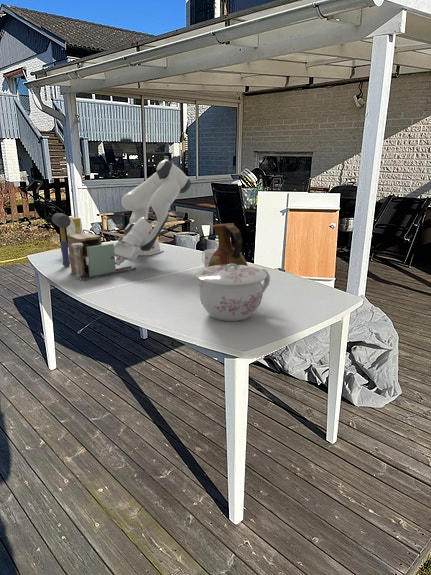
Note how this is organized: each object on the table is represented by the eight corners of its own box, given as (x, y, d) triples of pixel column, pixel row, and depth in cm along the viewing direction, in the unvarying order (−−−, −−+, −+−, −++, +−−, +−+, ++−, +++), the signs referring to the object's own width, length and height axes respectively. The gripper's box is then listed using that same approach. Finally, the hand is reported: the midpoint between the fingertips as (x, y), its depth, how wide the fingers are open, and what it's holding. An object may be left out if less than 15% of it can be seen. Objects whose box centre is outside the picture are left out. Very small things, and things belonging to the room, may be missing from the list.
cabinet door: (113, 272, 216) (111, 242, 212) (117, 273, 214) (114, 243, 209) (86, 277, 207) (83, 247, 202) (90, 279, 204) (86, 248, 199)
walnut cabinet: (92, 268, 225) (88, 232, 218) (108, 274, 212) (104, 237, 206) (63, 273, 214) (59, 236, 208) (79, 280, 201) (74, 241, 195)
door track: (130, 267, 225) (130, 265, 225) (135, 269, 221) (135, 267, 221) (79, 278, 206) (79, 276, 205) (84, 280, 202) (84, 278, 201)
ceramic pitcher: (227, 277, 207) (227, 218, 198) (257, 285, 193) (259, 223, 184) (199, 285, 194) (198, 223, 185) (229, 294, 180) (230, 228, 171)
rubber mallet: (77, 267, 225) (70, 213, 216) (63, 270, 221) (56, 215, 212) (69, 263, 235) (63, 211, 226) (56, 265, 230) (49, 212, 221)
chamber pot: (188, 326, 147) (186, 271, 140) (203, 301, 172) (203, 253, 166) (264, 331, 142) (267, 275, 136) (269, 304, 168) (271, 256, 161)
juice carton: (67, 253, 260) (63, 216, 253) (79, 251, 266) (75, 214, 258) (75, 255, 254) (70, 217, 247) (86, 253, 259) (82, 216, 252)
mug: (224, 270, 219) (224, 250, 215) (213, 274, 213) (213, 253, 209) (208, 266, 226) (208, 247, 223) (197, 270, 220) (196, 250, 217)
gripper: (145, 250, 212) (131, 271, 209) (125, 244, 226) (111, 264, 223) (138, 242, 208) (122, 264, 204) (117, 237, 222) (103, 257, 218)
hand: (116, 264), depth 214 cm, fingers closed
